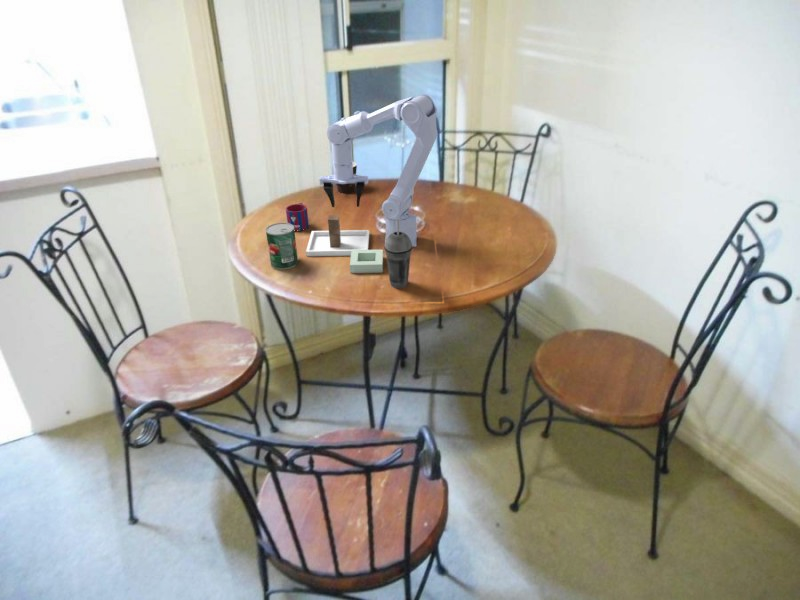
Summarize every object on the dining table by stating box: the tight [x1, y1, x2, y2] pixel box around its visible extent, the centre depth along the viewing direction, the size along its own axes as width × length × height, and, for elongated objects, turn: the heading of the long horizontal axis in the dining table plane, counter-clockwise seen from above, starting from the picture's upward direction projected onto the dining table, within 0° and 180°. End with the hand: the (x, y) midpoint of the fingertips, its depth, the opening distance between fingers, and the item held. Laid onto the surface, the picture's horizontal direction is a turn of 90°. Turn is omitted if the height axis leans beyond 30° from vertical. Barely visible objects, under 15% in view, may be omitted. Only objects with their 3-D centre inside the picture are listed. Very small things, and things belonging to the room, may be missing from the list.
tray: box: [305, 229, 370, 257], centre depth 172 cm, size 18×14×2 cm
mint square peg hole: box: [349, 249, 384, 274], centre depth 161 cm, size 9×9×3 cm
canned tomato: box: [265, 222, 299, 270], centre depth 161 cm, size 8×8×11 cm
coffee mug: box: [335, 160, 358, 195], centre depth 208 cm, size 12×9×10 cm
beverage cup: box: [383, 218, 413, 289], centre depth 147 cm, size 7×7×20 cm
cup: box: [285, 202, 310, 232], centre depth 184 cm, size 7×10×7 cm
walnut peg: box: [327, 214, 341, 247], centre depth 170 cm, size 3×3×9 cm
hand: (345, 205), depth 175 cm, fingers open, 7 cm apart
